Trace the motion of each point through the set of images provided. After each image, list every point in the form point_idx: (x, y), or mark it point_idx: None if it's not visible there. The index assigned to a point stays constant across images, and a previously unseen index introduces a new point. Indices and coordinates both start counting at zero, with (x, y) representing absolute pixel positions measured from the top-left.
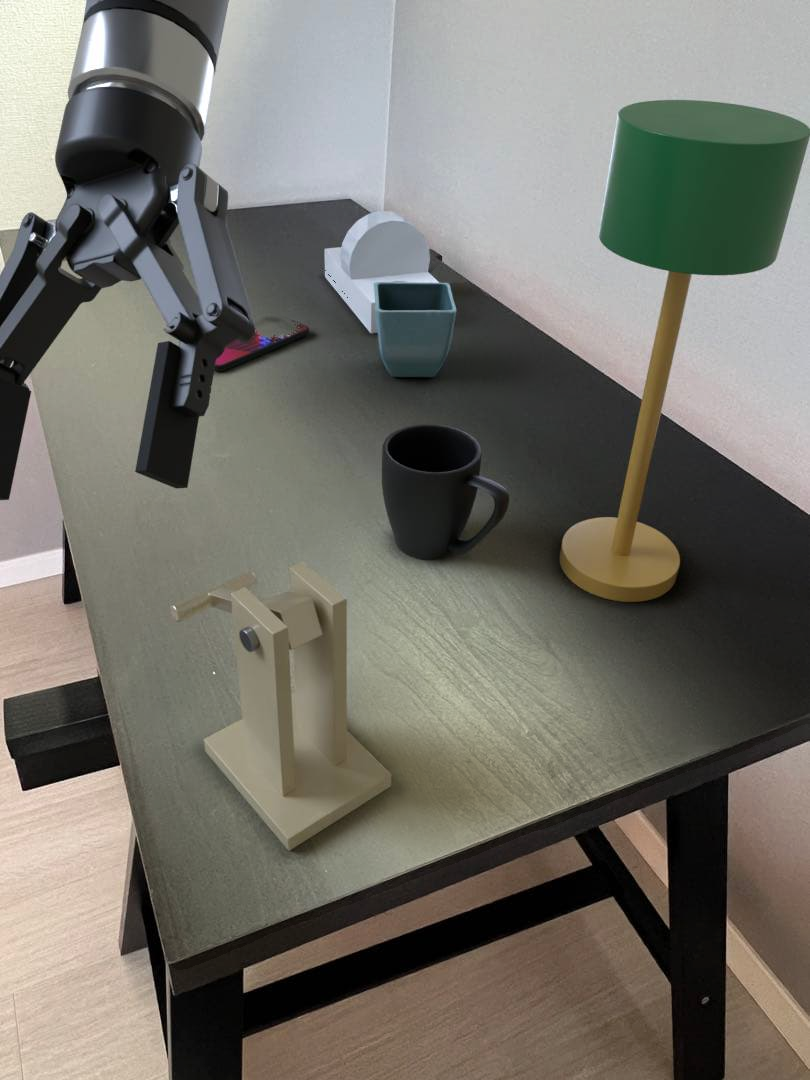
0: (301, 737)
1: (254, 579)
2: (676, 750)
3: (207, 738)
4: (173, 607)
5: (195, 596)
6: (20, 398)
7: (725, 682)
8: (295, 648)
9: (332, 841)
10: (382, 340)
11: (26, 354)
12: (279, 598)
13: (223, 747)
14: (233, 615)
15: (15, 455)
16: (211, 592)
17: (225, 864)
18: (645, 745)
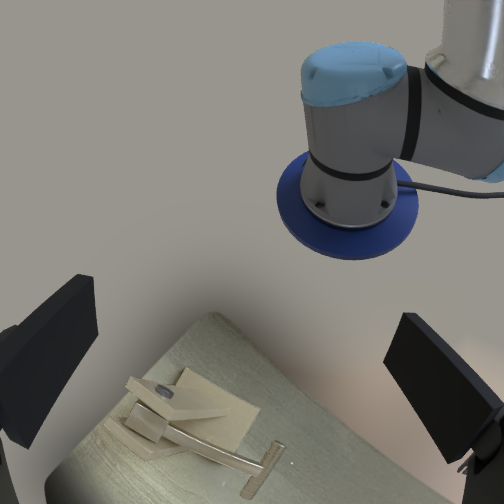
0: (207, 430)
1: (240, 493)
2: (69, 461)
3: (257, 410)
4: (280, 444)
5: (270, 461)
6: (448, 441)
7: (63, 498)
8: None
9: (174, 380)
10: None
11: (480, 485)
12: (154, 429)
13: (245, 408)
14: (182, 408)
15: (407, 394)
16: (260, 468)
17: (214, 350)
18: (77, 462)
